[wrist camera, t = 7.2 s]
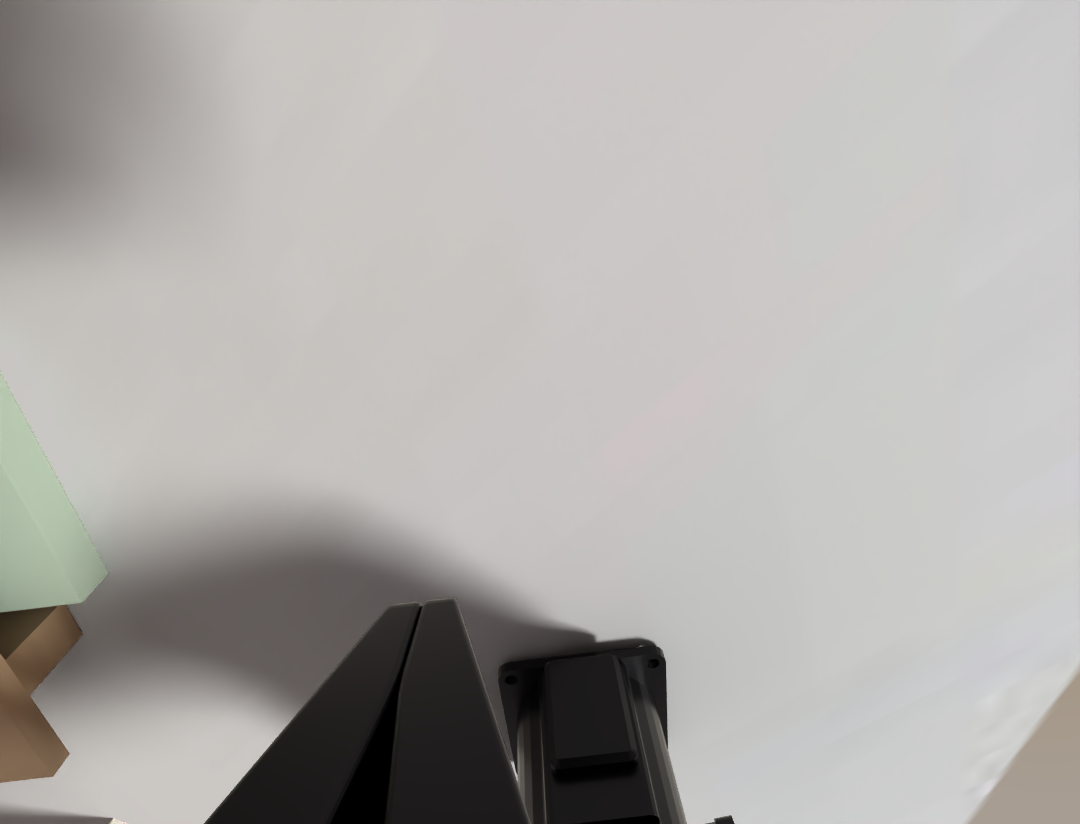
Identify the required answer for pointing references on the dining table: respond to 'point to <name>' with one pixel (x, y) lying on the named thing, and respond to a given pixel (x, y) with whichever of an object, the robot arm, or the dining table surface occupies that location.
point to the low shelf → (30, 689)
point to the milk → (116, 821)
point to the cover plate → (38, 524)
